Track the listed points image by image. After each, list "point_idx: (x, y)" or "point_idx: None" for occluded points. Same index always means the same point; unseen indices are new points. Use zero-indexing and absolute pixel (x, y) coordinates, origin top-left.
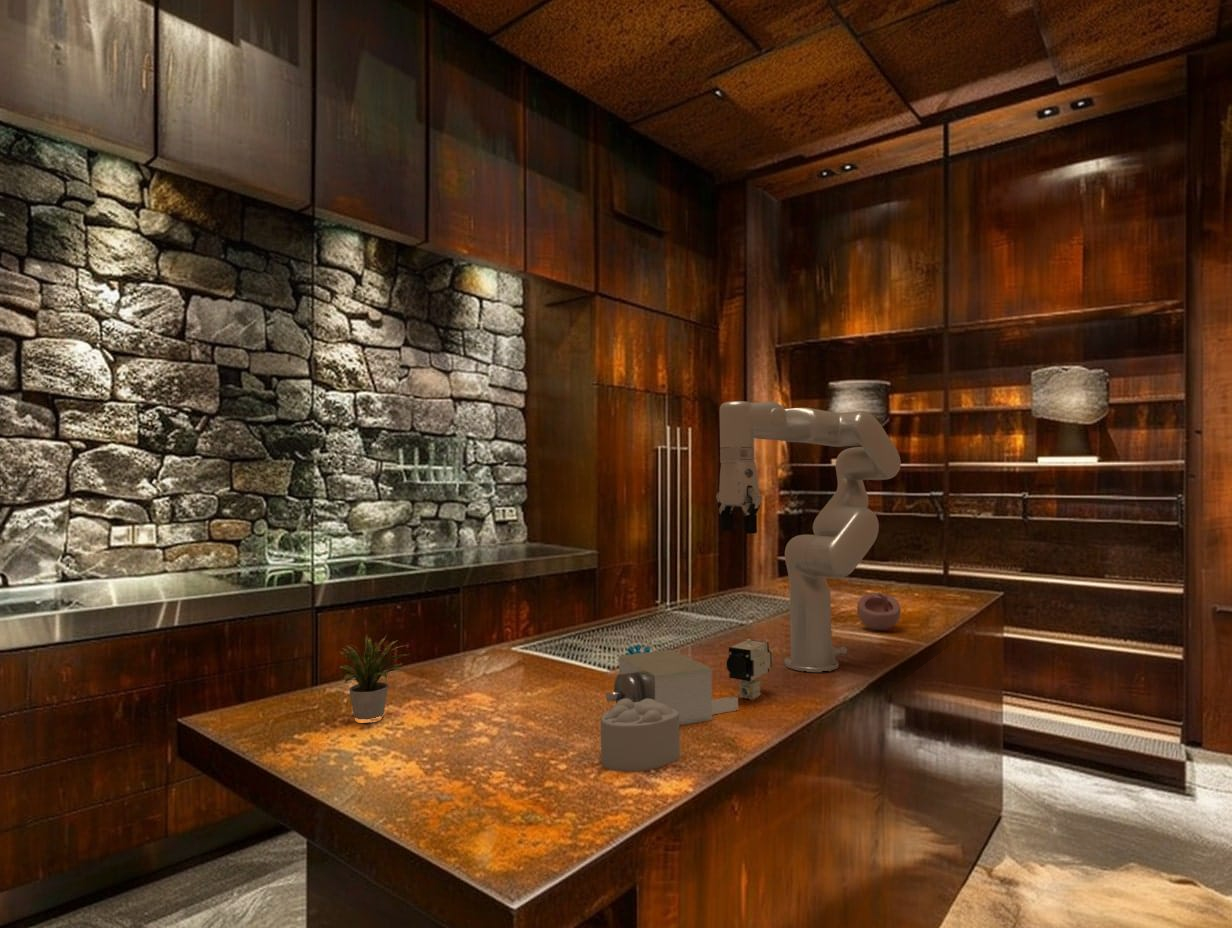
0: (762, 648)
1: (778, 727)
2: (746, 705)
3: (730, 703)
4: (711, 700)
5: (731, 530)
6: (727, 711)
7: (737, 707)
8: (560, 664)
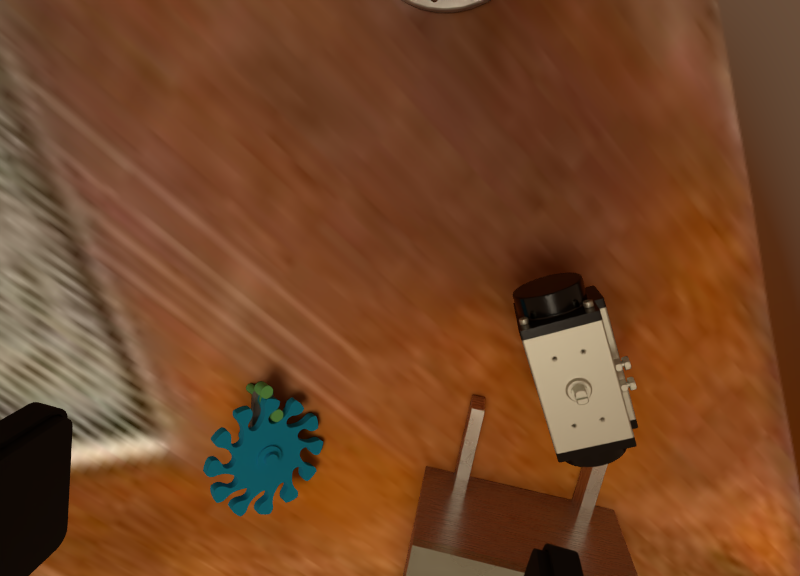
0: (625, 369)
1: (757, 441)
2: None
3: None
4: (624, 540)
5: (68, 429)
6: None
7: None
8: None
